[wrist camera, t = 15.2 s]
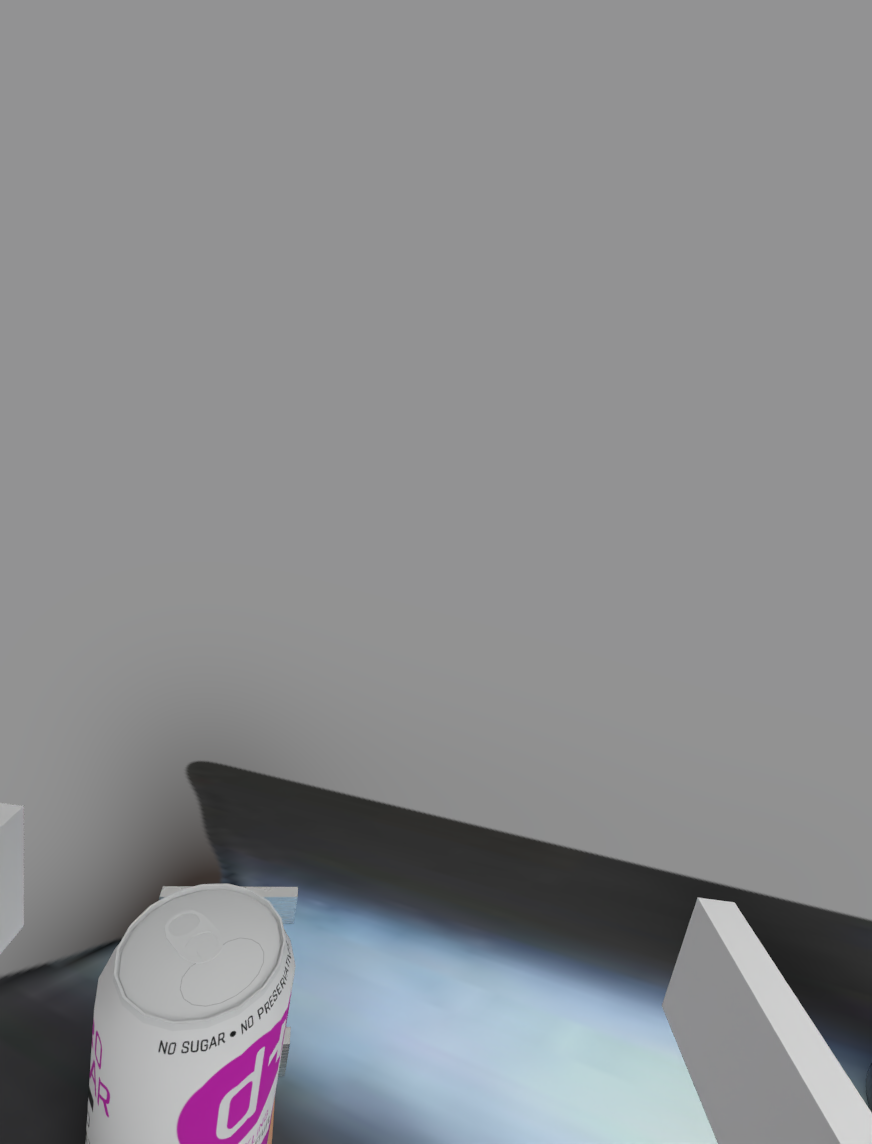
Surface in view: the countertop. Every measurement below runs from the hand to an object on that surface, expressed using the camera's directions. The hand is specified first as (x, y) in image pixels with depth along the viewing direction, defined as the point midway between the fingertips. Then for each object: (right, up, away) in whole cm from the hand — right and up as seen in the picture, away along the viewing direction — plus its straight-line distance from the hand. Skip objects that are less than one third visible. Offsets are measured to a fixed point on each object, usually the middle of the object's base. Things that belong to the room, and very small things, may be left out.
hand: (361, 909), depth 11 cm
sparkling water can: (-12, -24, +17) cm, 32 cm away
